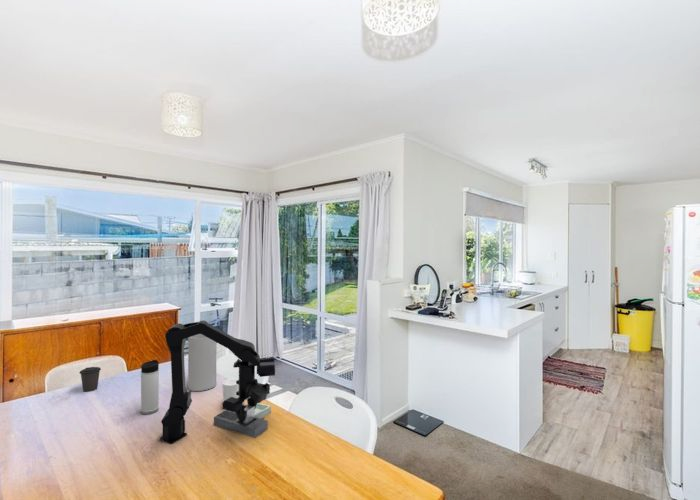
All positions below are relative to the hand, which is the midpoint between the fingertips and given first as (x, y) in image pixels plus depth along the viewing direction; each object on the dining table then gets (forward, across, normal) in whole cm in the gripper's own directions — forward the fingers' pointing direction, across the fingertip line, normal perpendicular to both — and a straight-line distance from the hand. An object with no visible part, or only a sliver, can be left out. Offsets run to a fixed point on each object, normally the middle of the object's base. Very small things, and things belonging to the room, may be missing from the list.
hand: (246, 419), depth 128 cm
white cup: (+4, +12, +19) cm, 23 cm away
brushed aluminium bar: (+4, 0, 0) cm, 4 cm away
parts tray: (+4, +9, +5) cm, 11 cm away
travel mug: (+4, -7, +45) cm, 46 cm away
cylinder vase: (+4, +20, +46) cm, 50 cm away
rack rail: (+4, 0, +3) cm, 5 cm away
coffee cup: (+4, -6, +90) cm, 90 cm away
